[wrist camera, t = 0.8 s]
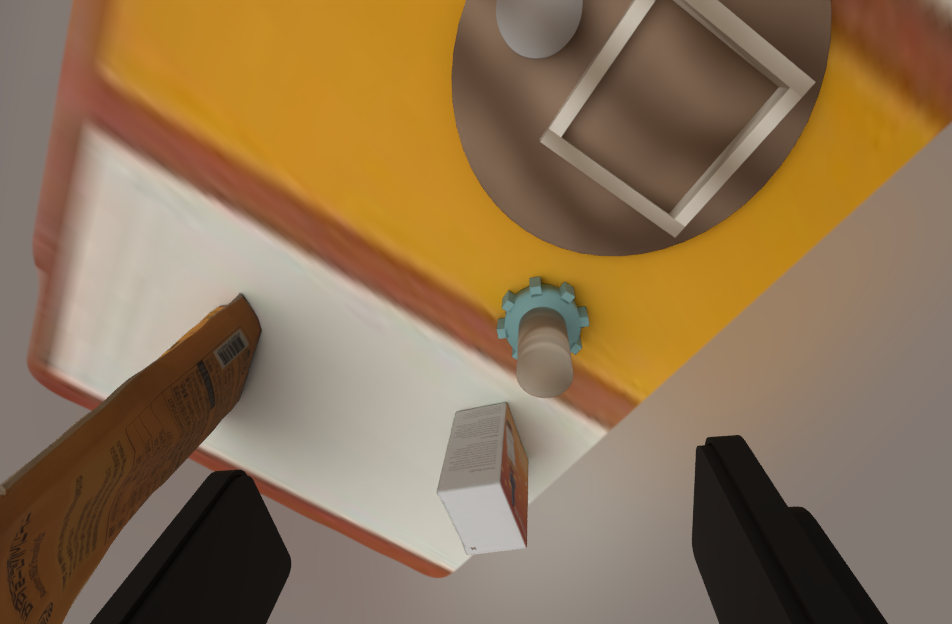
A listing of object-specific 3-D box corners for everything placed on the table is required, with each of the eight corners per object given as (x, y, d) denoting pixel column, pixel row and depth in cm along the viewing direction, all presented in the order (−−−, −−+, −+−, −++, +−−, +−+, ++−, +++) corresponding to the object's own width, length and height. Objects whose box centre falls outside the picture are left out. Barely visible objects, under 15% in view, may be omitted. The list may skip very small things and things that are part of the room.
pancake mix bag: (290, 302, 43) (-39, 610, 18) (244, 437, 51) (-23, 774, 26) (221, 269, 42) (-224, 544, 17) (186, 412, 51) (-147, 735, 26)
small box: (529, 459, 49) (528, 550, 39) (478, 468, 50) (466, 558, 40) (507, 399, 45) (501, 483, 36) (454, 410, 47) (435, 493, 37)
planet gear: (531, 259, 39) (532, 307, 31) (604, 308, 40) (623, 365, 32) (481, 325, 42) (470, 384, 34) (550, 368, 43) (555, 434, 35)
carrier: (601, -256, 25) (614, -320, 21) (905, 20, 29) (965, 11, 25) (396, 138, 35) (379, 145, 31) (641, 302, 39) (654, 328, 35)
